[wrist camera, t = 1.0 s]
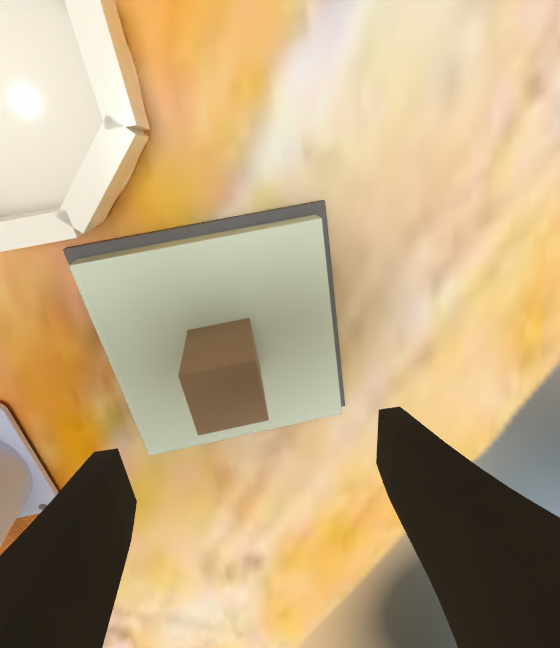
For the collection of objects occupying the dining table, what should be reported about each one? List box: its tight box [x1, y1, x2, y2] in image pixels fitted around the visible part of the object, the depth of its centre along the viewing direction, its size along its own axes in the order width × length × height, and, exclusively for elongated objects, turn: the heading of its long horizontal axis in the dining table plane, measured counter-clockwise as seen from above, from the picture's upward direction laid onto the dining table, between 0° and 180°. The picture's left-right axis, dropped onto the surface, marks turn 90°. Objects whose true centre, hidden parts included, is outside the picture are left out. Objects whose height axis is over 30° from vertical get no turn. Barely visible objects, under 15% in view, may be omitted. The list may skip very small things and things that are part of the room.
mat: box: [63, 200, 345, 407], centre depth 20 cm, size 12×12×1 cm
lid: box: [69, 214, 342, 456], centre depth 17 cm, size 11×11×5 cm
